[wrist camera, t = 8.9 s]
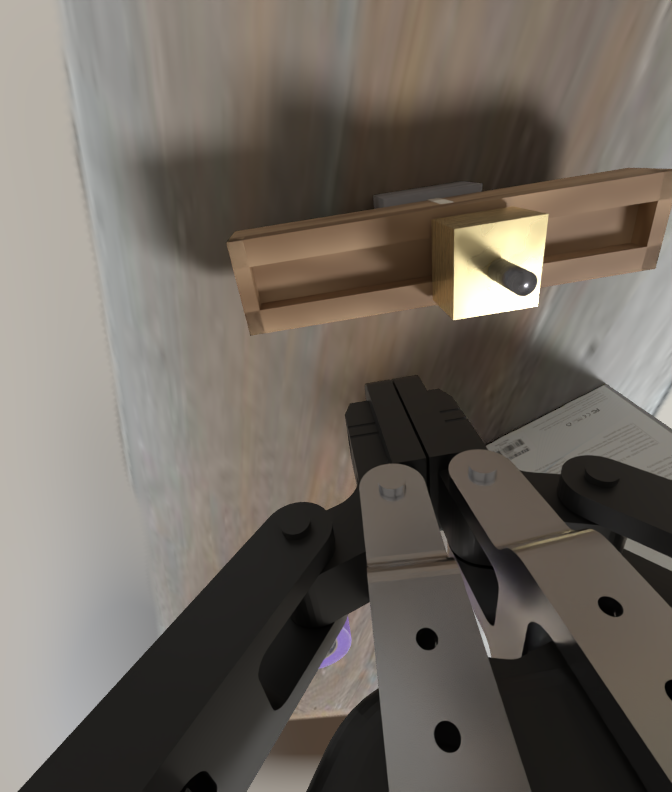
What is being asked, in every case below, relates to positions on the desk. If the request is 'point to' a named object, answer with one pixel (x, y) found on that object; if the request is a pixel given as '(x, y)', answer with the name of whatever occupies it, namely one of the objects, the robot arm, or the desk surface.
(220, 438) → the desk surface
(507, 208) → the rider
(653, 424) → the hard drive box
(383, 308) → the beam
